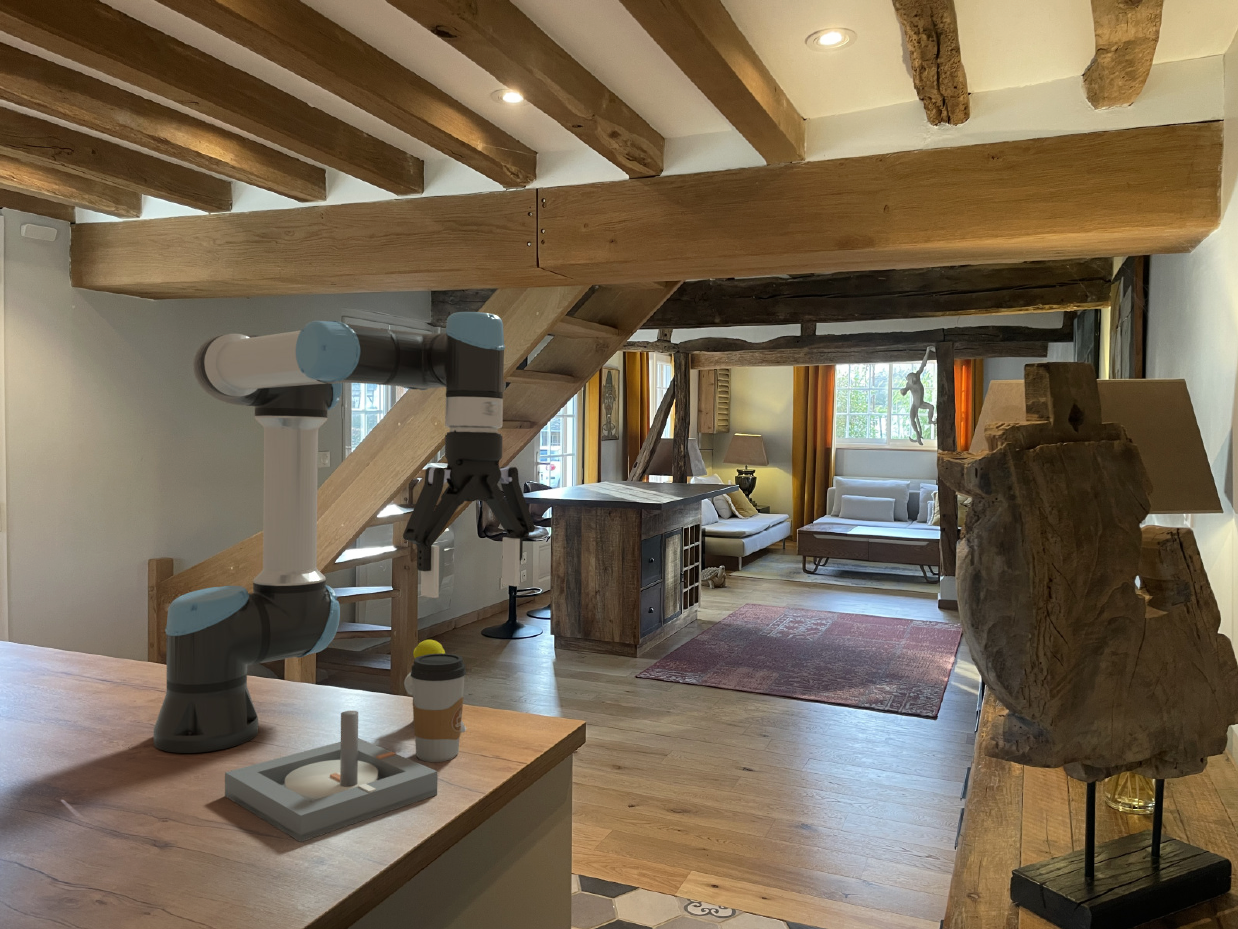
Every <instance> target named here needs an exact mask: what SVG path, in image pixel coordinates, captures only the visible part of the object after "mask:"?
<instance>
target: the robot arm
mask: <svg viewBox="0 0 1238 929" xmlns="http://www.w3.org/2000/svg"><path fill="white" fill-rule="evenodd" d="M505 350H506V345H505V335H504V323H503V320H502V319H501V317H499V316H498V315H496V314H494V313H488V312H482V311H481V312H479V311H477V312H476V311H459V312H454V313H452V314H449V316H447V319H446V327H445V332H437V333H423V332H413V331H406V330H397V329H389V328H383V327H382V328H381V327H380V328H379V327H373V326H372V327H371V326H365V325H358V324H352V323H344V322H342V321H338V320H313V321H310V322H307V323H306V324H305V326H304V328H302V329H301V330H295V331H289V332H281V333H274V334H267V335H254V334H249V333H223V334H218V335H215V336H211V337H210V338H208V339H207V340H205V341H204V342H203V343H202V344H201V345H199V347H198V349H197V350H196V352H195V354H194V356H193V357H194V358H193V363H192V366H193V368H192V369H193V374H194V377H195V379H196V381H197V383H198V384H199V386H200V387H201V389H202V390H203V391H204V392H205V393H207V395H209V396H211V397H212V398H214V399H217V400H218V401H220V402H222V403H223V402H224V403H226V404H229V405H230V404H231V405H235V406H245V407H254V419H255V421H257V422H258V423H259V424H260V425H261V426H262V428H263V431H264V432H263V436H264V437H263V523H262V525H263V532H262V533H263V535H262V537H263V538H262V542H263V543H262V544H263V546H262V570H261V572H260V571H259V573H258V574H257V576H255V577H254V578H253V579H252V581H253V582H252V583H253V586H252V593H251V592H250V593H249V592H248V589H247V588H246V587H244V586H242V585H241V586H240V585H224V586H220V587H219V586H213V587H207V588H206V587H205V588H202V589H198V590H193V591H190V592H188V593H187V592H186V593H184V594H183V595H179V596H178V597H177V598H175V599H174V600H172V602H171V603H170V604H169V605H168V609H167V618H166V619H167V620H166V626H165V634H166V690H165V691H166V692H165V697H164V699H163V701H162V705H161V707H160V711H159V712H158V716H157V719H156V722H155V725H154V727H153V734H152V735H153V736H152V737H153V746H154V747H155V748H156V749H158V750H161V751H165V752H169V753H177V754H178V753H181V754H182V753H183V754H194V753H196V754H197V753H206V752H212V751H213V752H214V751H219V750H225V749H229V748H233V747H236V746H239V745H243V744H244V743H246V742H249V741H251V740H253V738H255V737H256V736H258V733H259V718H258V714H257V711H256V708H255V705H254V701H253V700H252V697H251V694H250V691H249V688H248V666H253V665H258V664H263V663H268V662H274V661H279V660H287V659H291V658H297V659H298V658H304V657H306V656H307V655H311V654H312V655H313V654H317V653H319V652H322V651H323V650H325V649H327V647H328V646H329V645H330V643H332V642H333V640H334V638H335V637H336V634H337V632H338V629H339V624H340V617H341V616H340V615H341V606H340V603H339V600H337V599H338V595H337V593H336V591H335V590H334V589H333V588H332V587H331V586H329V585H327V582H326V578H327V577H326V576H325V575H324V574H323V573H322V572H321V571H320V570H319V569H318V566H317V561H318V560H317V559H318V558H317V556H318V555H317V554H318V552H317V551H318V550H317V549H318V472H319V471H318V468H319V466H318V461H319V460H318V458H319V457H318V456H319V452H318V451H319V449H318V448H319V429H320V428H321V426H323V424H324V423H326V422H327V421H328V411H330V410H332V409H334V408H335V407H336V406H337V405H338V403H339V402H340V397H341V396H342V392H343V384H365V385H366V384H368V385H370V384H371V385H379V386H380V385H381V386H392V387H400V388H404V389H410V390H420V391H425V390H428V389H439V388H445V407H444V408H445V410H444V411H445V412H444V413H445V414H444V425H445V427H446V428H447V429H449V432H446V434H445V436H444V457H445V459H446V462H447V465H446V468H445V469H444V467H435V466H433V467H432V466H429V467H427V468H426V470H425V472H424V474H425V476H424V484H423V487H422V489H421V491H420V494H419V496H418V498H417V501H416V504H415V505H414V507H413V510H412V513H411V515H410V517H409V519H408V522H407V524H406V527H405V529H404V531H403V534H402V537H403V540H405V541H408V542H410V543H412V544H413V545H416V568H417V571H420V572H421V573H420V596H421V597H427V598H433V599H437V598H440V597H439V593H440V592H439V587H440V586H439V585H440V584H439V581H440V545H436V544H435V542H436V541H437V539H438V537H439V536H440V535H441V533H442V532H443V531H444V529H445V527H446V526H447V524H448V523H449V521H450V520H451V518H452V517H453V516H454V513H456V511H457V510H458V508H459V506H461V505H463V504H464V502H469V503H471V502H475V501H479V502H484V503H486V504H487V506H488V508H489V509H490V510H491V512H492V513H493V515H494V516H495V518H496V520H497V521H498V522H499V523H500V525H501V527H502V528H503V529H504V532H505V533H506V534H507V536H508V537H507V536H506V537H502V559H501V560H502V561H501V563H502V568H501V573H502V574H501V578H502V579H501V585H505V586H511V587H519V586H520V561H522V559H523V554H524V552H523V547H524V546H523V544H524V542H523V540H524V539H528V538H529V536H530V533H534V532H535V530H536V528H535V523H534V521H533V519H532V515H531V513H530V510H529V506H528V505H527V501H526V498H525V496H524V492H523V491H522V488H521V485H520V480H519V469H518V468H517V467H516V466H501V467H500V460H502V459H503V439H504V438H503V435H502V433H500V432H499V431H498V430H499V429H502V427H503V420H504V419H503V418H504V417H503V416H504V414H503V413H504V412H503V411H504V409H503V408H504V404H503V403H504V394H503V393H504V367H505V366H504V364H505V363H504V362H505V359H504V358H505ZM498 432H499V433H498ZM499 482H500V485H501V488H502V489H501V488H500V487H499V486H498V484H499ZM446 483H447V484H448V485H447V487H446V488H445V490H444V492H442V491H443V489H444V485H445V484H446ZM440 496H441V497H440ZM439 498H440V501H439ZM434 544H435V545H434Z"/></svg>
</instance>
